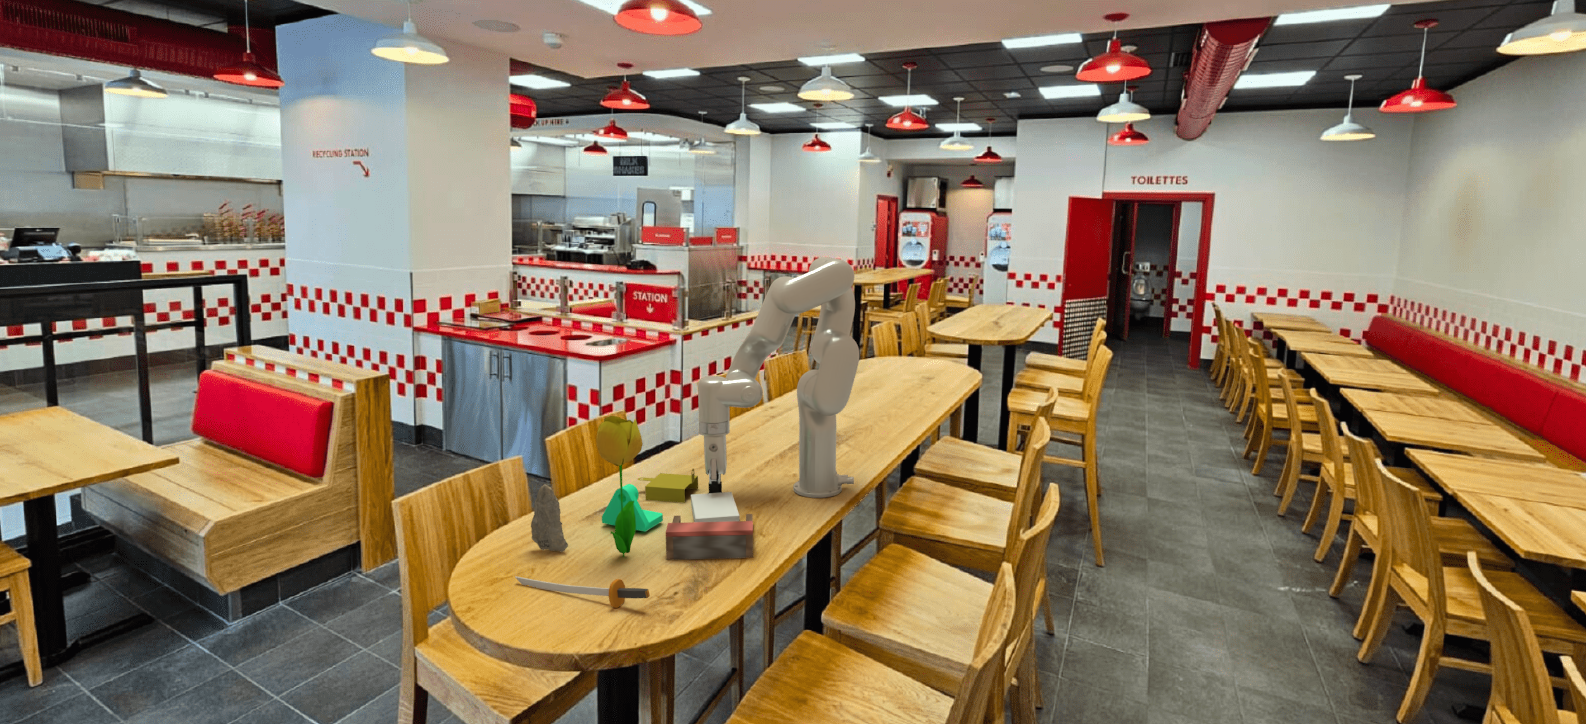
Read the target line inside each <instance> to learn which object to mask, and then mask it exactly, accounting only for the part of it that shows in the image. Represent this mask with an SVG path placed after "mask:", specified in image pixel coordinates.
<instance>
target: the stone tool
mask: <svg viewBox="0 0 1586 724" xmlns="http://www.w3.org/2000/svg"><path fill="white" fill-rule="evenodd" d="M536 495H537V496H536V498H535V500H534V504H533V509H534V510H533V517H532V520H531V522H530V528H531V531H530V532H531V539H532V541H533V542H534V543H535V544H537V546H538V548H539V549H540V550H541V551H546V550H549V551H551V552H556V551H557V552H560V553H564V552H565V551H566V549H567V548H568V547H569V544H568V542H567V540H566V539H565V535H564V531H563V526H562V525H563V522H562V521H561V506H560V501H559V498H557V496H556V495H555V492H554V490H553V488H552V487H550V486H549V485H548V484H546V483H544V484H543V485H541V486H540V487H539V489H538V491H537V494H536Z"/></svg>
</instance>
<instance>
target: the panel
mask: <svg viewBox="0 0 1586 724" xmlns="http://www.w3.org/2000/svg"><path fill="white" fill-rule="evenodd" d="M735 501H736V500H735V499H734V495H733V492H732V491H722V492H721V493H709V492H708V493H697V494H696V493H695V494H690V507H691V511H692V517H693V522H731V521H741V520H740V517H741V516H740V512H739V511H738V510H739V509H738V507H737V504H736V502H735Z"/></svg>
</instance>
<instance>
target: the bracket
mask: <svg viewBox="0 0 1586 724" xmlns="http://www.w3.org/2000/svg"><path fill="white" fill-rule="evenodd" d="M637 480H638V481H645V482H648V483H647V484H645V486H644V488H645V491H644V493H645V501H651V502H652V501H653V502H654V501H655V502H666V503H667V502H668V503H680V504H681V503H682V504H685V503H686V497H685V494H686V493H685V489H694V490H699V475H695V468H692V469H691V474H678V473H676V474H675V473H661V472H660V473H659V474H658V475H656V476H655V477H638V478H637Z"/></svg>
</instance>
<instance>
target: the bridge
mask: <svg viewBox="0 0 1586 724" xmlns="http://www.w3.org/2000/svg"><path fill="white" fill-rule="evenodd" d="M681 519H682V518H681V515H673V518H672V522H667V526H666V529H665V549H666V550H665V553H666V554H665V555H666V556H665V558H666V559H665V560H675V561H676V560H680V561H681V560H705V559H706V560H710V559H711V560H713V559H714V560H715V559H717V560H719V559H746V558H754V524H753V522H754V521H753V519H754V518H753V513H746V514H745V520H744V521H742V520H740V521H731V522H694V521H693V522H689V521H687V522H681V521H682V520H681Z"/></svg>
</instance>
